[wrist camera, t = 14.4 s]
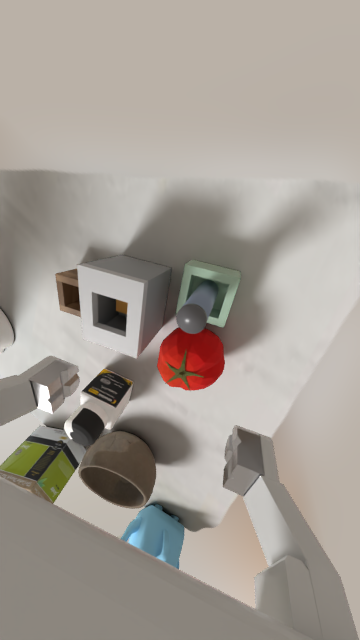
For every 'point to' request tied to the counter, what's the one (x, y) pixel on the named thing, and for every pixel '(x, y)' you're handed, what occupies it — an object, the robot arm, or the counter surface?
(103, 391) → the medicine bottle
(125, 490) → the bowl
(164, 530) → the teapot
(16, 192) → the counter surface
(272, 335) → the counter surface
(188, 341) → the tomato
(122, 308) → the button
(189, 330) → the grey rod
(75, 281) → the holder
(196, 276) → the rest socket
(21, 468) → the tea box
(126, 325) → the grey hollow block
